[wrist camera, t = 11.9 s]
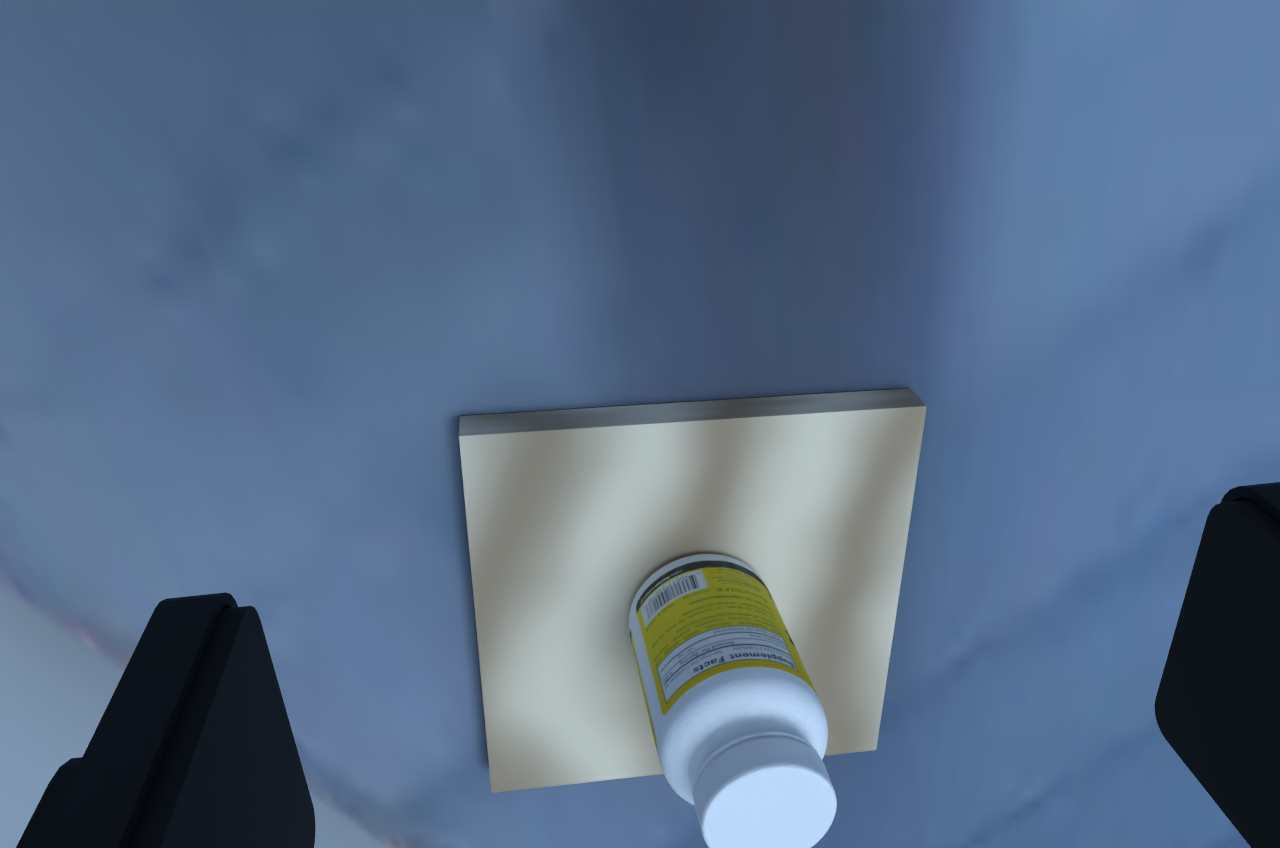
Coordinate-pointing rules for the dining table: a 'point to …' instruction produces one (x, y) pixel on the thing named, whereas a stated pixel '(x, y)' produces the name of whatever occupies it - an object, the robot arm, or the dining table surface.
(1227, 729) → the robot arm
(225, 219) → the dining table surface
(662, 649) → the supplement bottle
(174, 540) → the dining table surface
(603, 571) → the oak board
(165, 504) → the dining table surface
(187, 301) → the dining table surface
